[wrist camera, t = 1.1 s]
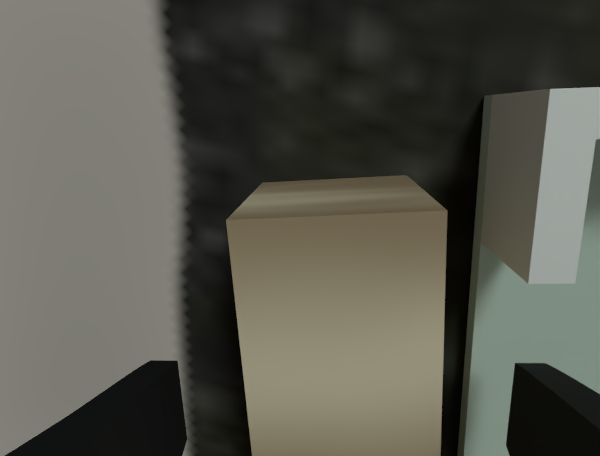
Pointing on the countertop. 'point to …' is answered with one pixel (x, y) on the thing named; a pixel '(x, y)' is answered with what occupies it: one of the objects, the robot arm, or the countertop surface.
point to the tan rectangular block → (341, 316)
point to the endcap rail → (532, 254)
